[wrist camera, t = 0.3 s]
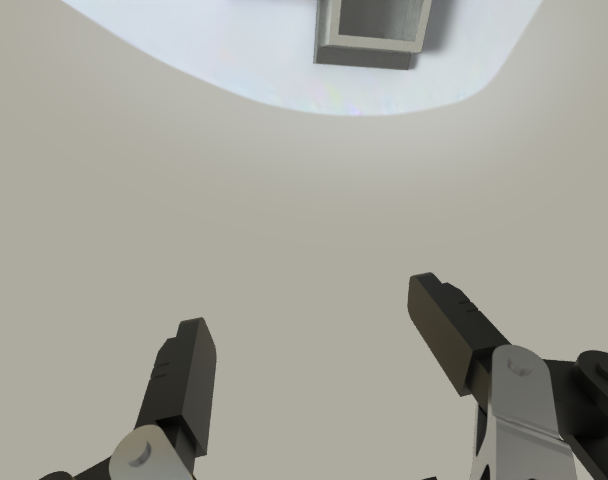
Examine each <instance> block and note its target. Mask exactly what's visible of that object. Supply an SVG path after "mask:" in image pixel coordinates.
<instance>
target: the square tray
mask: <svg viewBox="0 0 608 480" xmlns="http://www.w3.org/2000/svg"><path fill="white" fill-rule="evenodd" d="M431 3H432V0H317V12H316V28H315V44H314V60H313V63H314V64H327V65H341V66H355V67H369V68H382V69H396V70H408V66H409V61H410V56H411V53H419V52H421V50H422V46H423V41H424V36H425V31H426V27H427V22H428V17H429V12H430V8H431Z"/></svg>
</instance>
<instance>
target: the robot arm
mask: <svg viewBox="0 0 608 480" xmlns="http://www.w3.org/2000/svg"><path fill="white" fill-rule="evenodd" d="M408 312H409V315H410V318H411V320H412V321H413V323H414V325H415V326H416V328H417V329H418V331H419V332H420V334H421V335H422V337H423V339H424V340H425V342H426V343H427V345H428V346H429V348H430V349H431V351H432V353H433V354H434V356H435V358H436V359H437V361H438V362H439V364H440V366H441V367H442V368H443V370H444V372H445V373H446V375H447V377H448V378H449V380H450V381H451V383H452V384H453V386H454V387H455V389H456V391H457V392H458V394H459V395H460V397H461V396H466V395H470V394H472V395H473V396H474V398H475V399H476V401H477V404H476V412H475V429H474V446H473V462H472V469H471V474H470V479H469V480H577V475H576V470H575V464H574V458H573V454H572V451H573V453H574V454H575V455H576V457H577V458H578V459H579V461H580V462H581V463H582V464H583V466H584V467H585V468H586V470H587V471H588V472H589V473H590V475H591V476H592V477H593V479H594V480H608V353H606V352H602V351H595V350H590V351H585V352H583V353H581V354H580V355H579V357H578V358H577V360H576V362H571V361H570V362H569V361H557V360H546V359H541V358H540V357H539V356H538V355H537V354H535V353H534V352H532V351H530V350H528V349H526V348H523V347H521V346H516V345H512V344H511V343H510V342H509V341H508V340H507V339H506V338H505V337H504V336H503V335H502V334H501V333H500V332H499V331H498V330H497V329H496V327H495V326H494V325H493V324H492V323H491V322H490V321H489V320H488V319H487V318H486V317H485V316H484V315H483V313H482V312H481V311H478V308H477V307H476V306H475V305H474V304H473V303H472V302H470V300H469V298H468V297H467V296H466V295H465V294H464V293H463V292H462V291H461V290H460V289H458V288H456V287H454V286H453V285H451V284H449V283H443V284H442V283H441V282H440V281H439V280H438V278H437V277H436V276H435V275H434V274H433V273H431V272H429V273H424V274H419V275H414V276H411V277H410V282H409V293H408ZM215 369H216V348H215V345H214V342H213V339H212V337H211V335H210V332H209V330H208V327H207V325H206V322H205V320H204V318H202V317H201V318H196V319H190V320H185V321H181V323H180V325H179V328H178V332H177V336H176V337H174V338H169V339H167V341H166V342H165V343H164V345H163V346H162V347H161V349H160V350H159V351H158V354H157V357H156V361H155V364H154V368H153V371H152V374H151V380H149V383H148V387H147V390H146V393H145V396H144V400H143V403H142V406H141V409H140V412H139V416H138V419H137V422H136V425H135V428H134V430H133V431H132V432H130V433H129V434H128V435H127V436H126V437H124V438H123V440H122V441H121V442H120V443H119V444H118V446H117V447H116V449H115V450H114V452H113V454H112V455H111V456H110V457H109V458H107V459H106V460H104V461H102V462H100V463H98V464H96V465H95V466H93V467H91V468H89V469H87V470H86V471H84V472H82V473H80V474H78V475H76V476H75V477H72V476H71V475H70V474H68V473H67V472H64V471H58V472H53V473H51V474H48V475H46V476H44V477H43V478H41V479H39V480H197V479H196V478H195V476H194V474H193V469H194V462H195V458H196V457H200V456H205V455H207V445H208V436H209V427H210V426H209V425H210V417H211V407H212V398H213V388H214V379H215ZM559 435H560V436H561V437H562V438H563V439H564V441H563V440H561V439H560V436H559ZM423 480H437V478H436V477H431V478H427V479H423Z"/></svg>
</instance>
